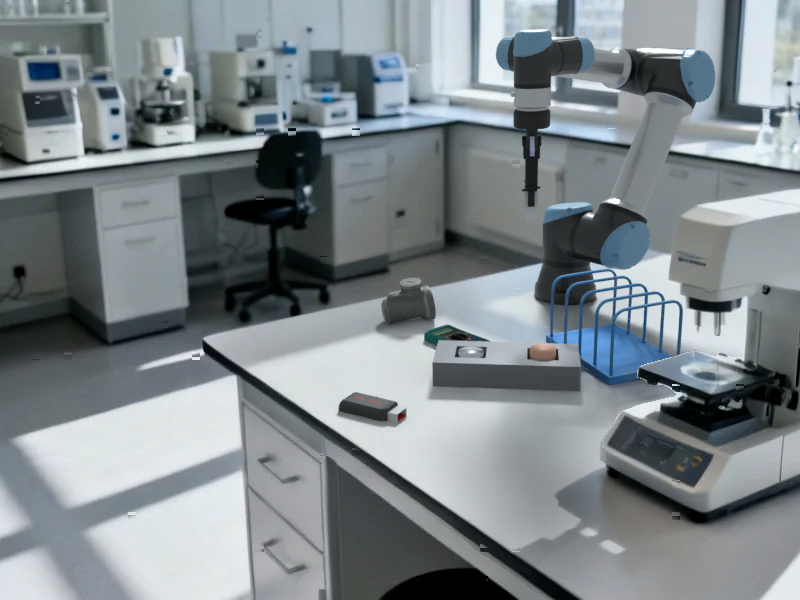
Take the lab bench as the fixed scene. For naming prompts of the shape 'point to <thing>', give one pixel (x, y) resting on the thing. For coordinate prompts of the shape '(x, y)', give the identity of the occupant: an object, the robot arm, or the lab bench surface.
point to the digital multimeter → (449, 335)
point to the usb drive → (372, 407)
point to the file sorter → (612, 334)
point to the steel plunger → (471, 352)
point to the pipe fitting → (409, 302)
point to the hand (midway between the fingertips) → (530, 220)
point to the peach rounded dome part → (542, 352)
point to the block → (506, 367)
